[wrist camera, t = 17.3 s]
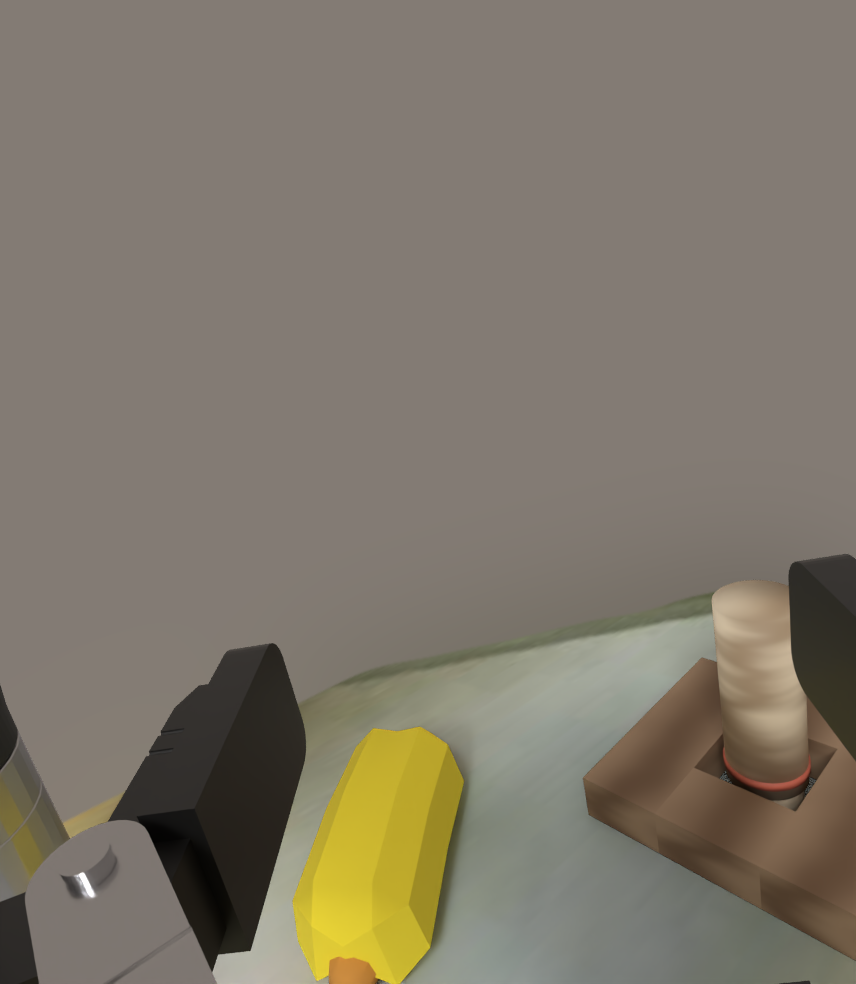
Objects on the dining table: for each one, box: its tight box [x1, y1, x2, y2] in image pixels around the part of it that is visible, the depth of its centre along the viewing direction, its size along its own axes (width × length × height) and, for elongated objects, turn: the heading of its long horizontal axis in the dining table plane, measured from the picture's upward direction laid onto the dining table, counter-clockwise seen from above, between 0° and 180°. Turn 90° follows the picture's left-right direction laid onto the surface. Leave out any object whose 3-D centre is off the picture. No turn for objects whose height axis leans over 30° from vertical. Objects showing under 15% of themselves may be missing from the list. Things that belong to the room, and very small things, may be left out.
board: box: [583, 658, 856, 961], centre depth 44 cm, size 16×15×3 cm
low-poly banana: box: [293, 727, 464, 984], centre depth 44 cm, size 18×7×8 cm
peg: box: [712, 580, 811, 812], centre depth 42 cm, size 5×5×14 cm
